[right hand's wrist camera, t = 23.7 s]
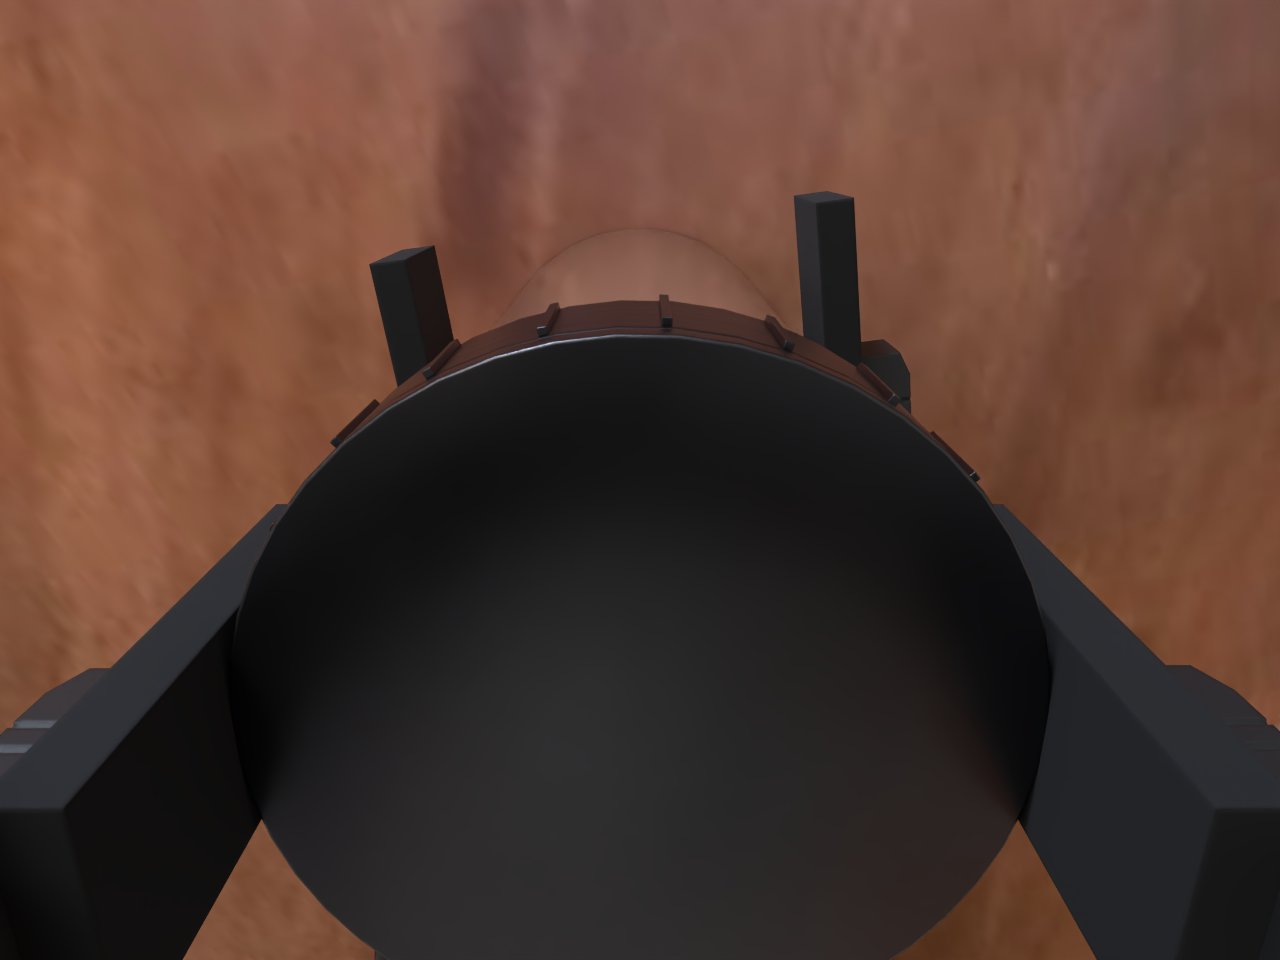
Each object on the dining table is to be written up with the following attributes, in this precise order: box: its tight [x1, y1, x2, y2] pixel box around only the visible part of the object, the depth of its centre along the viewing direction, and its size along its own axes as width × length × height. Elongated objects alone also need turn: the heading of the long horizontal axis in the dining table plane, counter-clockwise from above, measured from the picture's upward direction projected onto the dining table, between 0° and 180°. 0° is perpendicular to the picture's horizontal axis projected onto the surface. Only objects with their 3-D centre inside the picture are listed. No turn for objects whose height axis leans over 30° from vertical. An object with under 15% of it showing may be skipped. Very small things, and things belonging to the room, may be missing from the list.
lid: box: [230, 294, 1050, 960], centre depth 11 cm, size 9×9×2 cm
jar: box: [489, 229, 792, 332], centre depth 19 cm, size 8×8×16 cm
